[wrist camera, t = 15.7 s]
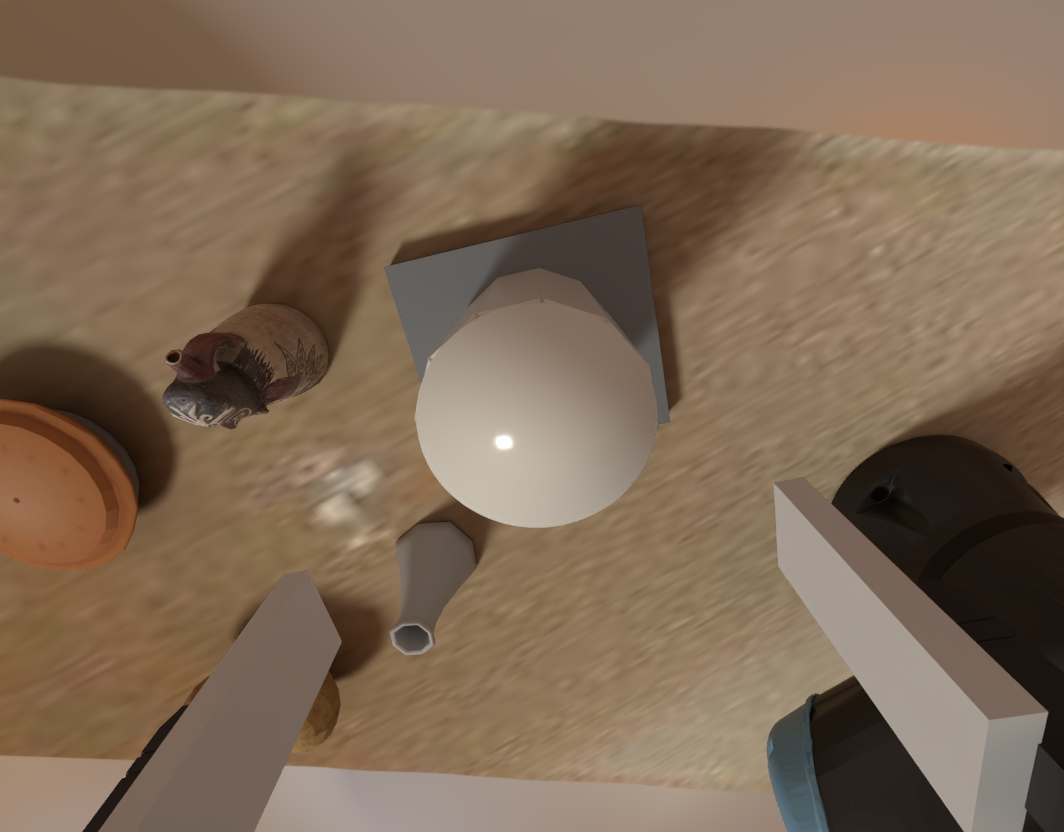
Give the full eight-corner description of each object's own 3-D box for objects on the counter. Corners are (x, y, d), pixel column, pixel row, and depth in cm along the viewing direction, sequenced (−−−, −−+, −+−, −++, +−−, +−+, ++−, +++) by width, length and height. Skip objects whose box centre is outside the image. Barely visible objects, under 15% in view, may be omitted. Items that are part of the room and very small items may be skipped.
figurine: (238, 383, 39) (120, 448, 28) (234, 293, 36) (102, 325, 25) (329, 398, 40) (249, 468, 28) (331, 310, 37) (243, 349, 26)
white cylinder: (597, 253, 34) (639, 276, 20) (623, 403, 38) (671, 504, 24) (440, 290, 35) (381, 335, 21) (481, 432, 39) (453, 545, 25)
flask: (454, 508, 43) (432, 587, 34) (490, 569, 46) (478, 658, 37) (383, 535, 44) (343, 618, 35) (421, 594, 47) (393, 686, 38)
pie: (10, 540, 45) (-51, 576, 40) (-53, 377, 39) (-132, 398, 35) (182, 550, 45) (141, 587, 41) (144, 390, 40) (92, 412, 35)
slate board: (636, 205, 34) (641, 204, 33) (665, 415, 40) (670, 422, 39) (389, 265, 36) (383, 267, 34) (451, 458, 41) (448, 466, 40)
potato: (208, 625, 48) (150, 699, 41) (352, 631, 49) (319, 706, 41) (226, 696, 52) (175, 776, 45) (360, 702, 52) (331, 782, 45)
